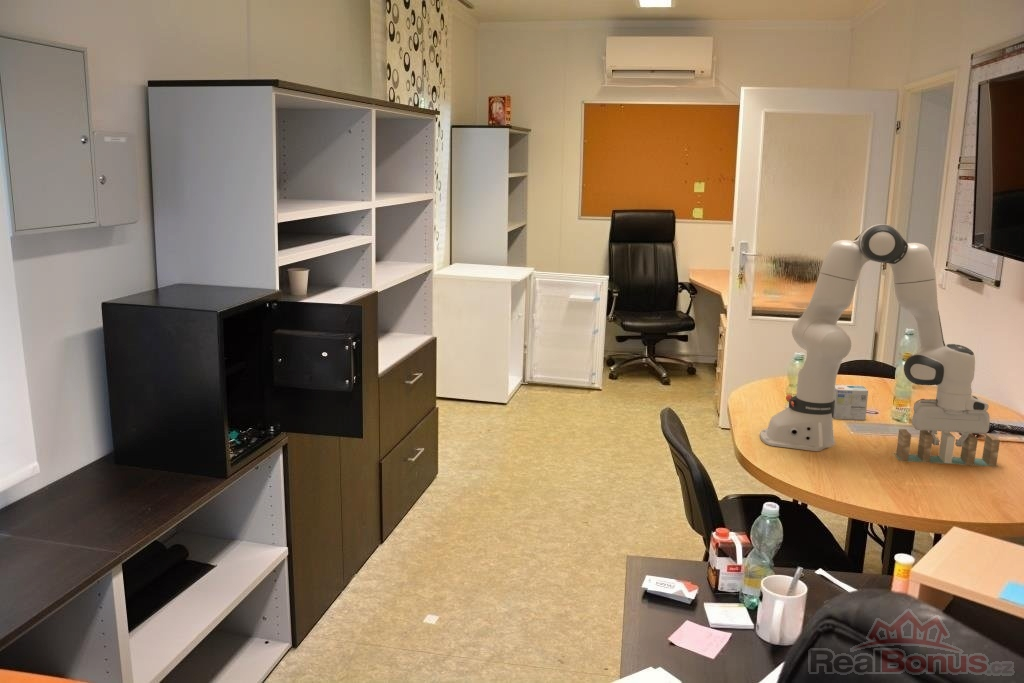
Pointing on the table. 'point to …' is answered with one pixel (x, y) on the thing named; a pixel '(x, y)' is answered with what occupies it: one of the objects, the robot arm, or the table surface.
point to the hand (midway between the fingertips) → (947, 445)
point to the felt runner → (937, 460)
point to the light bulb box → (850, 402)
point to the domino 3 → (946, 447)
